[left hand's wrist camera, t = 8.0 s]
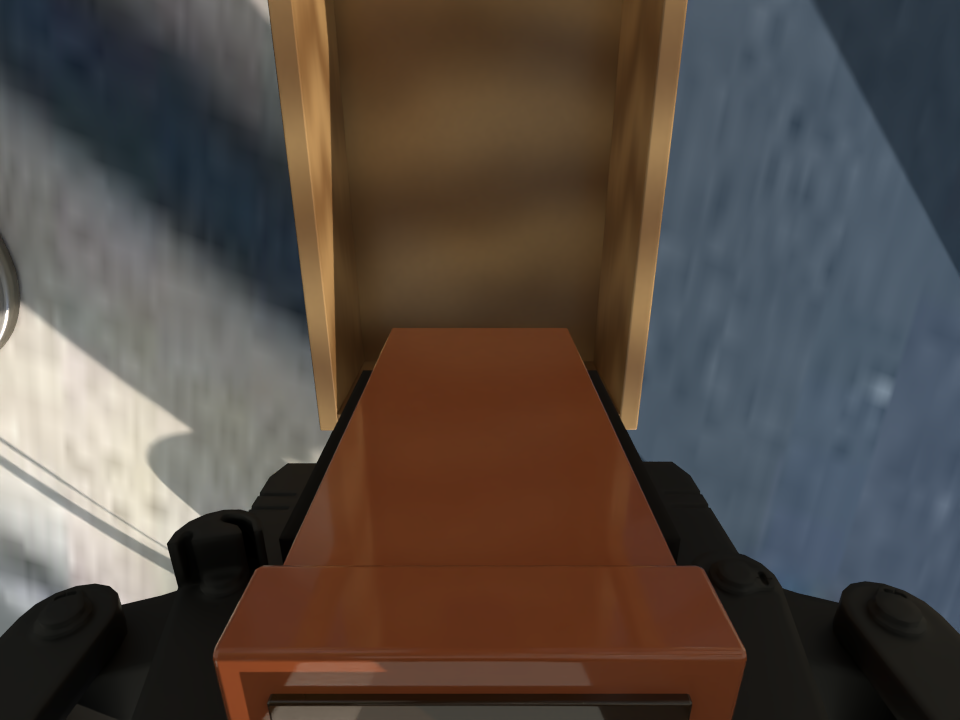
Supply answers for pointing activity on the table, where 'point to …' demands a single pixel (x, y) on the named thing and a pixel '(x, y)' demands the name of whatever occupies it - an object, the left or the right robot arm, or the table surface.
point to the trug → (477, 172)
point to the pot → (479, 559)
